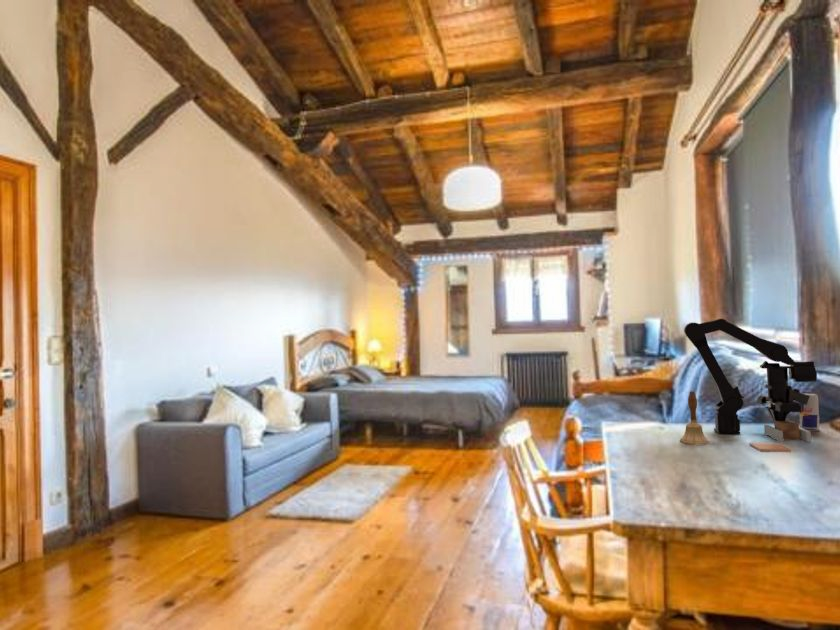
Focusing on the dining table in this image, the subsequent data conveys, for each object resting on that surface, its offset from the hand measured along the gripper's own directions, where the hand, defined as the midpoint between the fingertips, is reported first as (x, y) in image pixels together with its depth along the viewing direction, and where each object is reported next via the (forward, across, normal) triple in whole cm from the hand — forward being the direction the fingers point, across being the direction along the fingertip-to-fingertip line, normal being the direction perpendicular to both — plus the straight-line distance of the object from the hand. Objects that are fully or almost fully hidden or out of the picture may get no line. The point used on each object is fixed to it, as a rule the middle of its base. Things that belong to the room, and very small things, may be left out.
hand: (780, 429), depth 178 cm
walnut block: (+2, -5, 0) cm, 5 cm away
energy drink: (+2, +8, -12) cm, 14 cm away
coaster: (+2, -20, +11) cm, 23 cm away
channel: (+2, -5, 0) cm, 5 cm away
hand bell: (+2, -12, +29) cm, 31 cm away
